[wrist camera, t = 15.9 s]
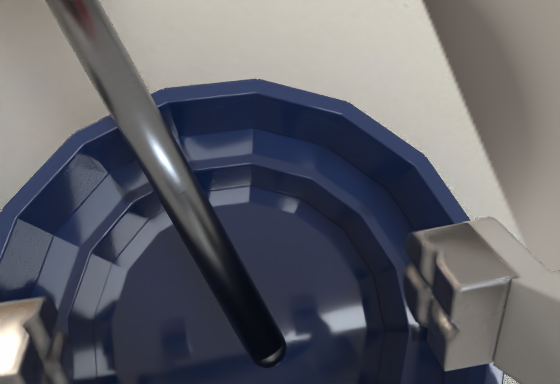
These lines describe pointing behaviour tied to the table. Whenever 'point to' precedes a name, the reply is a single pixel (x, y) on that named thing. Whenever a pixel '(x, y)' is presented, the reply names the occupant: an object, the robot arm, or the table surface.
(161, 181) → the baster
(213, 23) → the table surface
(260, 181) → the bowl
